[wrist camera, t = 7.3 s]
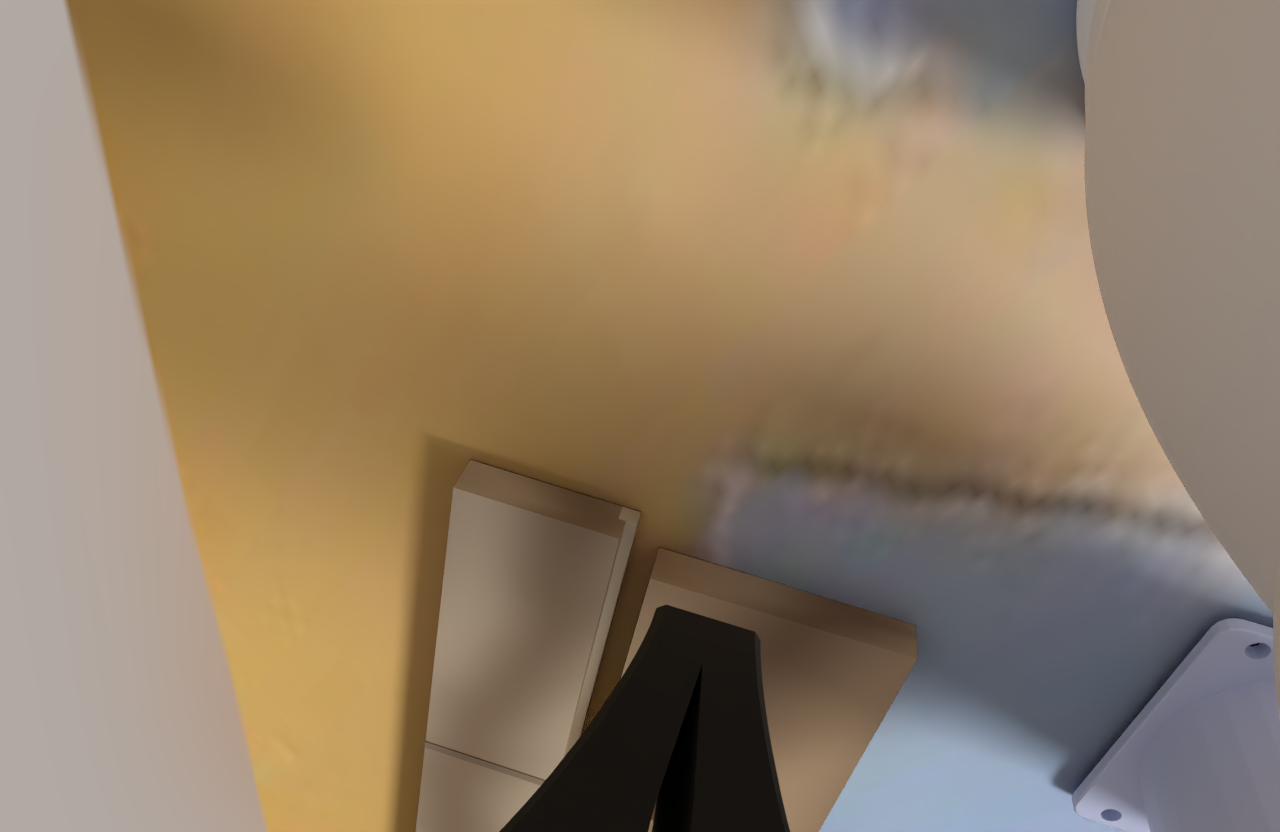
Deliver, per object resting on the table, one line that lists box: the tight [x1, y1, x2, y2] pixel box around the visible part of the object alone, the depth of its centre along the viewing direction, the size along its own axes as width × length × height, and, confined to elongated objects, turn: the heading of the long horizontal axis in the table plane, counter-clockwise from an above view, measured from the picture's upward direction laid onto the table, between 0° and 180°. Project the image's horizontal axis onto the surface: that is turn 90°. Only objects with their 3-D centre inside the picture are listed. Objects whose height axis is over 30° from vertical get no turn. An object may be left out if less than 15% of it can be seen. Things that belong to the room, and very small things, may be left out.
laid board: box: [416, 460, 641, 832], centre depth 30 cm, size 5×21×1 cm, turn 168°
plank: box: [620, 548, 918, 832], centre depth 27 cm, size 7×9×1 cm
